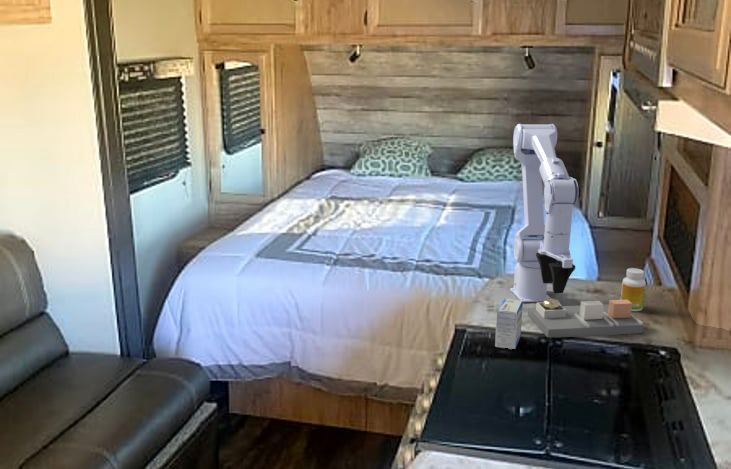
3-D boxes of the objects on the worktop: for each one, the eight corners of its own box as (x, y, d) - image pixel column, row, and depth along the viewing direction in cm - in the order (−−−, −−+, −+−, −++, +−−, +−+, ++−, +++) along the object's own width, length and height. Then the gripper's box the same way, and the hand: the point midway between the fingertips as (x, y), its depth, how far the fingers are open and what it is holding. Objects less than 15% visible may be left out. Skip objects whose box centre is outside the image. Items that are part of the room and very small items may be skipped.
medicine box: (515, 350, 158) (517, 313, 156) (494, 347, 160) (496, 310, 157) (520, 336, 166) (523, 300, 163) (500, 333, 167) (503, 297, 165)
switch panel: (527, 315, 177) (528, 300, 176) (615, 311, 180) (617, 296, 179) (547, 337, 165) (549, 322, 164) (642, 333, 168) (644, 317, 167)
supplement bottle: (644, 312, 180) (648, 275, 177) (621, 310, 181) (625, 273, 178) (640, 304, 185) (645, 267, 182) (618, 303, 186) (622, 266, 183)
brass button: (540, 304, 175) (541, 299, 174) (555, 304, 175) (555, 298, 175) (546, 310, 171) (547, 304, 171) (561, 310, 172) (561, 303, 171)
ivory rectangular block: (579, 315, 172) (580, 301, 171) (597, 314, 173) (598, 300, 172) (583, 319, 170) (585, 305, 169) (602, 318, 170) (603, 304, 169)
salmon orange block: (607, 314, 173) (609, 300, 172) (625, 313, 173) (627, 299, 173) (612, 318, 170) (614, 304, 170) (630, 317, 171) (632, 303, 170)
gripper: (529, 223, 174) (525, 277, 178) (552, 241, 161) (547, 299, 164) (558, 222, 175) (553, 276, 179) (583, 240, 161) (578, 298, 165)
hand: (552, 287), depth 172 cm, fingers open, 6 cm apart
